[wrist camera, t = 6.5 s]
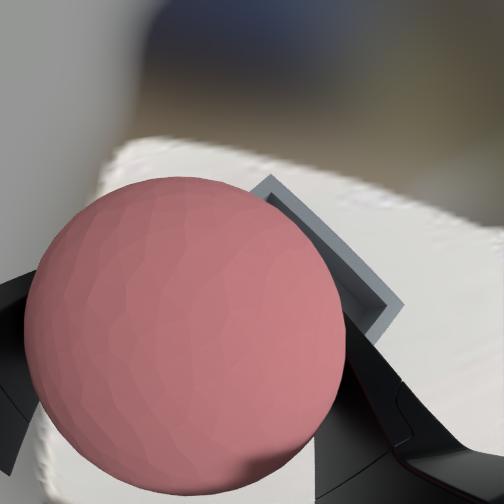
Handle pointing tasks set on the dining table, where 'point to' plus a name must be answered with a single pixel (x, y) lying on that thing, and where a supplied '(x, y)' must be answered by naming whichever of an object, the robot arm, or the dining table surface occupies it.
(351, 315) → the blue-gray bin
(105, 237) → the light bulb
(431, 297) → the dining table surface
